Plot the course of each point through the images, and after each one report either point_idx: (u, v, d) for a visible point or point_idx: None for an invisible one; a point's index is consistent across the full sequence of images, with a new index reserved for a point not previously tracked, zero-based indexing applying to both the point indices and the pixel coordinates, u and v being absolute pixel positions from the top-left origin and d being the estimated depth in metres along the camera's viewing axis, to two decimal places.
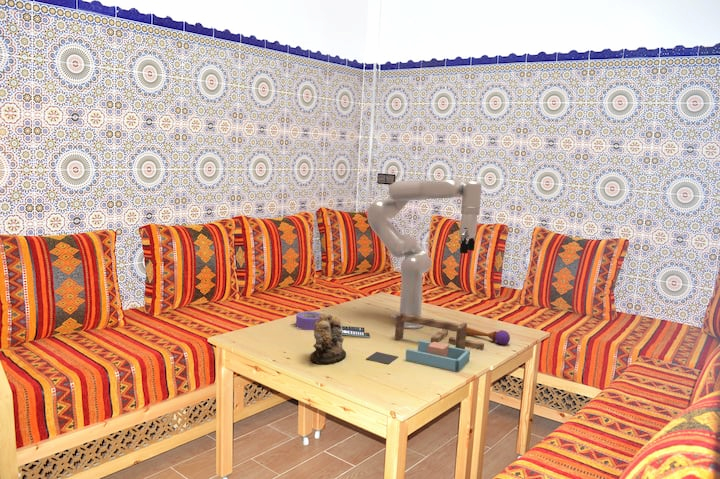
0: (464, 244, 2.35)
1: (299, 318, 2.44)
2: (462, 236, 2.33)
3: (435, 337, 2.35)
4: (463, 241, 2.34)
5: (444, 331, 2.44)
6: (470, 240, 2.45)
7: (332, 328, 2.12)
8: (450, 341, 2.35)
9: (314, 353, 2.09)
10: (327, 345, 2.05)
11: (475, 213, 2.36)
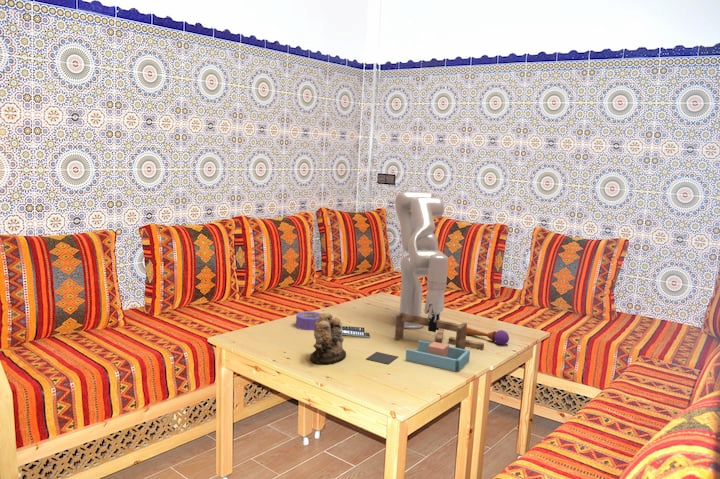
0: None
1: (299, 318, 2.44)
2: (429, 318, 2.24)
3: (439, 338, 2.34)
4: (431, 320, 2.26)
5: (441, 330, 2.44)
6: None
7: (332, 328, 2.12)
8: (450, 341, 2.35)
9: (314, 353, 2.09)
10: (327, 345, 2.05)
11: (441, 289, 2.24)
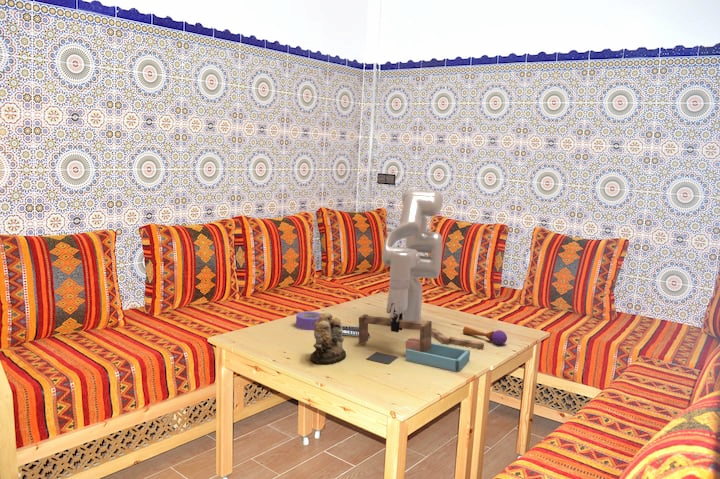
0: None
1: (299, 318, 2.44)
2: (391, 318, 2.15)
3: (445, 338, 2.35)
4: (393, 319, 2.17)
5: (436, 330, 2.44)
6: None
7: (332, 328, 2.12)
8: (450, 341, 2.34)
9: (314, 353, 2.09)
10: (327, 345, 2.05)
11: (404, 287, 2.15)
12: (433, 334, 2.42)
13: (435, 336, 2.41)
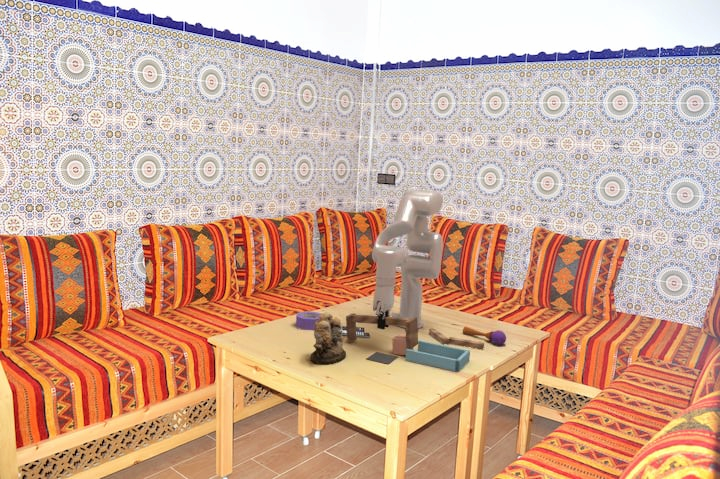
0: None
1: (299, 318, 2.44)
2: (377, 315, 2.18)
3: (445, 338, 2.35)
4: (379, 317, 2.20)
5: (435, 330, 2.44)
6: (384, 316, 2.24)
7: (332, 328, 2.12)
8: (450, 341, 2.34)
9: (314, 353, 2.09)
10: (327, 345, 2.05)
11: (389, 285, 2.18)
12: (433, 334, 2.42)
13: (435, 336, 2.41)
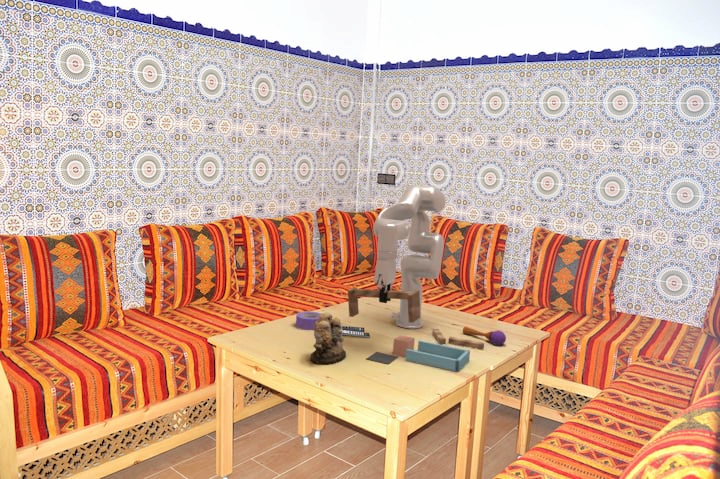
0: None
1: (299, 318, 2.44)
2: (379, 288, 2.17)
3: (442, 338, 2.34)
4: (381, 290, 2.19)
5: (437, 330, 2.44)
6: None
7: (332, 328, 2.12)
8: (450, 341, 2.35)
9: (314, 353, 2.09)
10: (327, 345, 2.05)
11: (391, 258, 2.16)
12: (434, 334, 2.42)
13: (435, 336, 2.41)
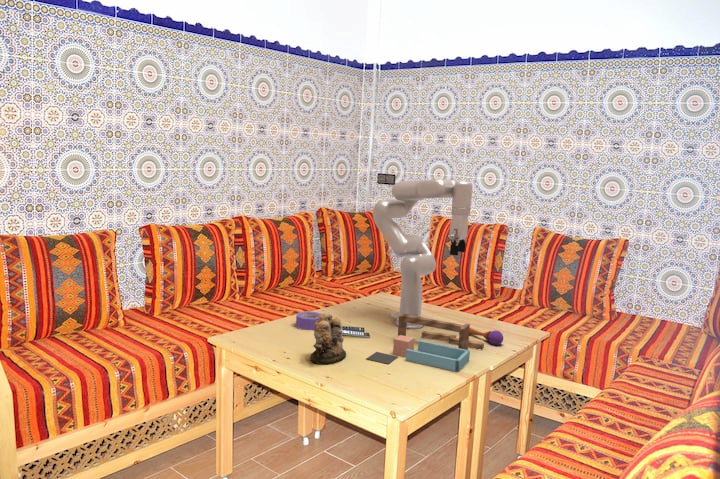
0: (454, 246, 2.30)
1: (299, 318, 2.44)
2: (452, 237, 2.27)
3: (425, 332, 2.41)
4: (453, 243, 2.29)
5: (449, 335, 2.38)
6: (461, 241, 2.39)
7: (332, 328, 2.12)
8: (450, 341, 2.35)
9: (314, 353, 2.09)
10: (327, 345, 2.05)
11: (465, 214, 2.30)
12: None
13: None
